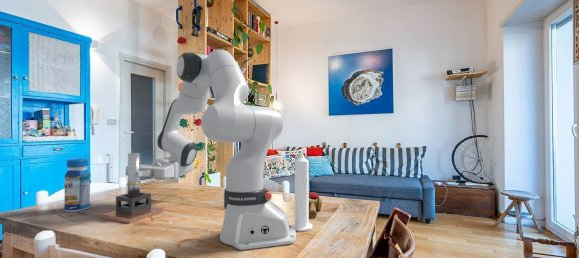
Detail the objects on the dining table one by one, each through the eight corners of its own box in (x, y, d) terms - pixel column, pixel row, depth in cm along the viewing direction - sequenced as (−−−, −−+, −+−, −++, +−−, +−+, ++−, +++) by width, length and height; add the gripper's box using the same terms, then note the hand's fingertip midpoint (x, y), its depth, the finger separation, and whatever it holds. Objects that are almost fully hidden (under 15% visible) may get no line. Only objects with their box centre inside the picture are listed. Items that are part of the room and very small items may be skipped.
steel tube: (142, 200, 102) (142, 152, 102) (137, 203, 98) (137, 153, 98) (130, 200, 102) (131, 152, 102) (124, 203, 97) (125, 153, 97)
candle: (311, 232, 83) (311, 151, 83) (288, 230, 85) (288, 151, 85) (313, 224, 90) (313, 150, 90) (292, 223, 91) (293, 149, 92)
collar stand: (136, 208, 108) (137, 189, 109) (163, 212, 103) (163, 192, 103) (101, 218, 95) (101, 197, 96) (129, 223, 90) (130, 201, 90)
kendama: (325, 221, 97) (323, 201, 115) (322, 205, 96) (320, 187, 114) (304, 224, 98) (305, 204, 116) (301, 208, 97) (302, 190, 115)
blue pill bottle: (92, 209, 107) (93, 159, 107) (65, 214, 100) (65, 160, 101) (88, 205, 112) (88, 157, 113) (61, 209, 106) (62, 159, 106)
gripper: (143, 160, 116) (112, 163, 103) (181, 162, 108) (152, 166, 95) (143, 174, 115) (112, 180, 103) (180, 178, 108) (152, 184, 95)
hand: (131, 173), depth 99 cm, fingers closed on steel tube, 4 cm apart
